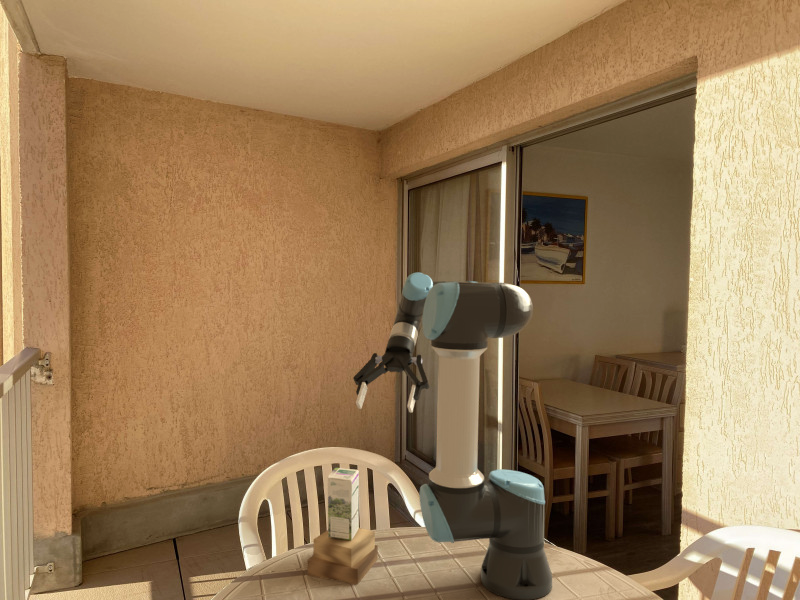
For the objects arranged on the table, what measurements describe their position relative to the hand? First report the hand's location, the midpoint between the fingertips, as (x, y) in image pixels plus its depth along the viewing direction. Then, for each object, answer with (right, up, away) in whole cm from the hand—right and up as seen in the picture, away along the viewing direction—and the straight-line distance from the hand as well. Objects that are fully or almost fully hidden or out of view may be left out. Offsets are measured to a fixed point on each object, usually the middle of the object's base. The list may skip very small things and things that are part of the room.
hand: (383, 407), depth 142 cm
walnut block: (-9, -34, -13) cm, 38 cm away
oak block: (-8, -30, -13) cm, 34 cm away
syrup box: (-9, -26, -13) cm, 31 cm away
